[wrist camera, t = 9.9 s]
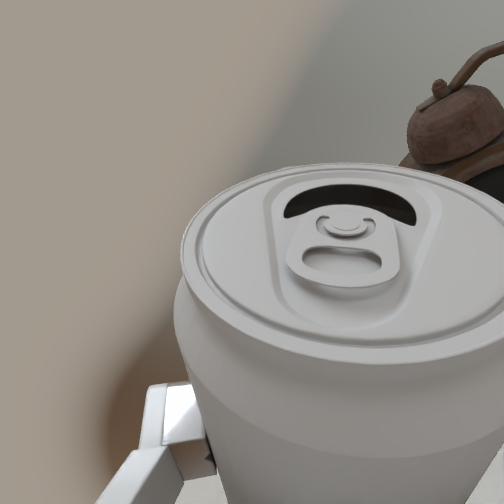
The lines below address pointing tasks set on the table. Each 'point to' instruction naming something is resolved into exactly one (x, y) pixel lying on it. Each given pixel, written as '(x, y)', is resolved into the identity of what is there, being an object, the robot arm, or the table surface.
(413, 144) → the alarm clock
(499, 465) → the table surface
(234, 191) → the beverage can
